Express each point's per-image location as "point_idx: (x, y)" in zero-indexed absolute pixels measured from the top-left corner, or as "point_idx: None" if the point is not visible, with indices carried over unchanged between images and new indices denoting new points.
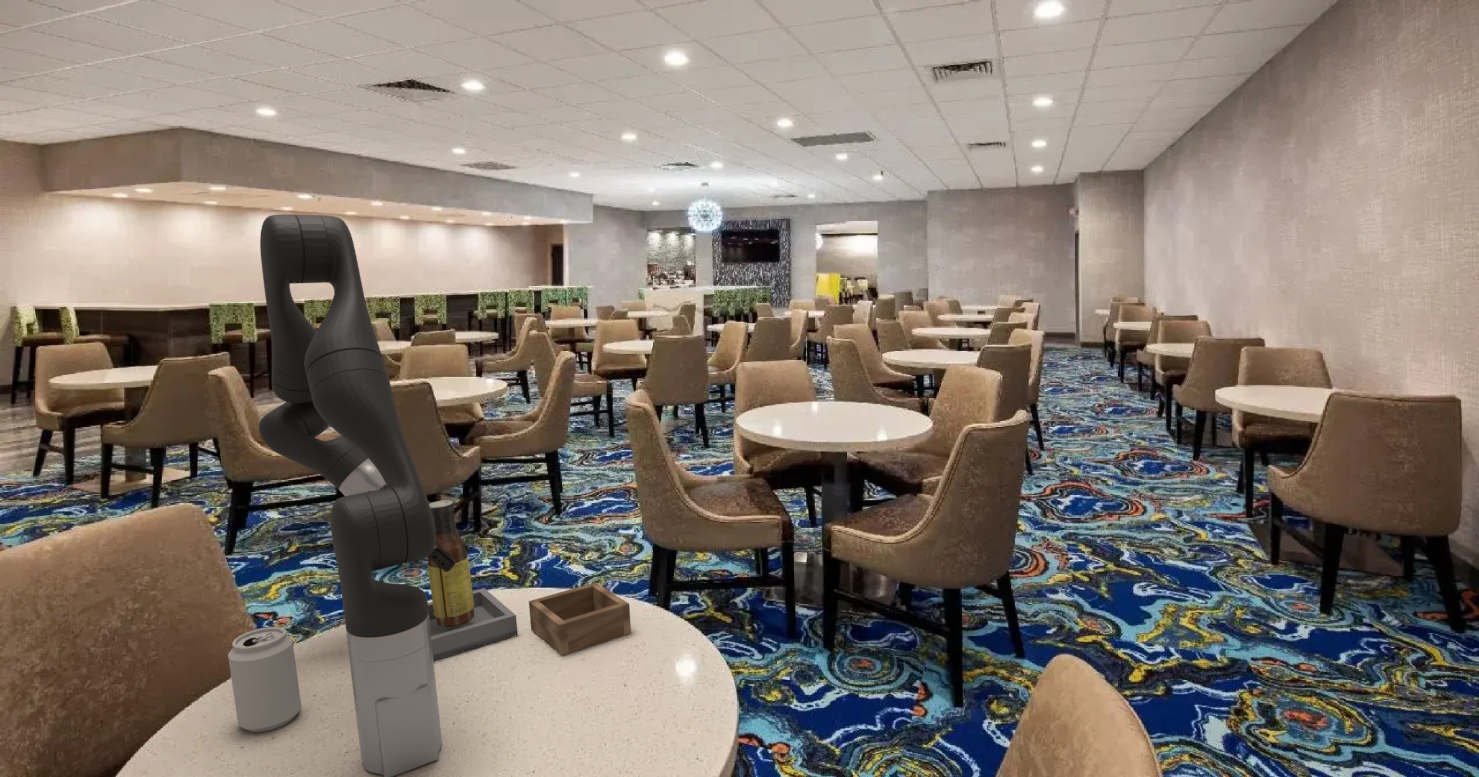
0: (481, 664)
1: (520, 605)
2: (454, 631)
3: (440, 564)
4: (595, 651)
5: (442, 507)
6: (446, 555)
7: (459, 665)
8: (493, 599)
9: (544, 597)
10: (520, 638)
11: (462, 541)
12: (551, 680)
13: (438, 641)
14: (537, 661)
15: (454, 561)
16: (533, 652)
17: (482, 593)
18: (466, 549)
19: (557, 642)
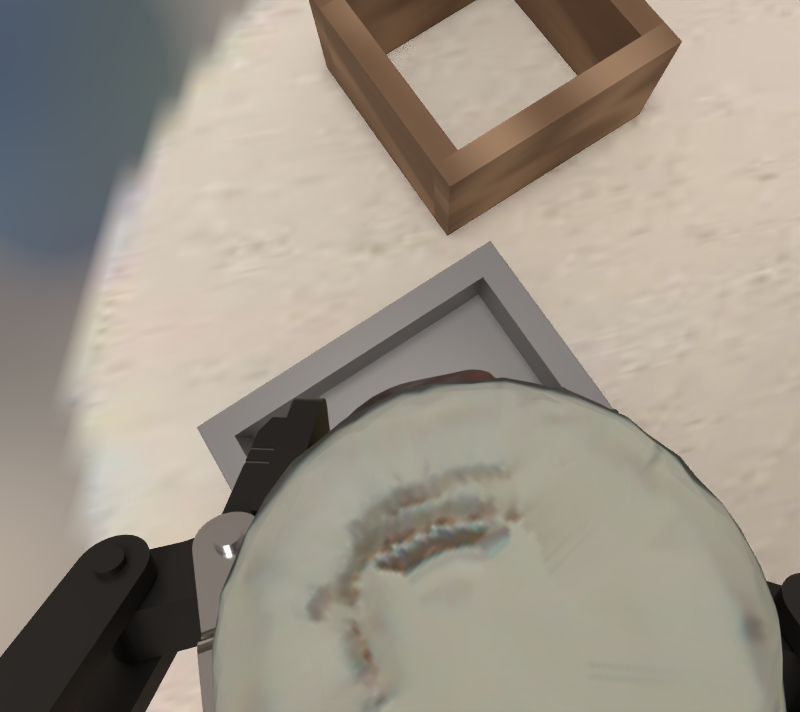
0: (677, 335)
1: (238, 312)
2: None
3: None
4: None
5: (731, 535)
6: None
7: (680, 403)
8: (324, 359)
9: (421, 137)
10: (502, 256)
11: (294, 434)
12: (784, 115)
13: None
14: (666, 174)
15: (615, 410)
16: (605, 197)
17: (253, 419)
18: (323, 411)
19: (630, 104)
